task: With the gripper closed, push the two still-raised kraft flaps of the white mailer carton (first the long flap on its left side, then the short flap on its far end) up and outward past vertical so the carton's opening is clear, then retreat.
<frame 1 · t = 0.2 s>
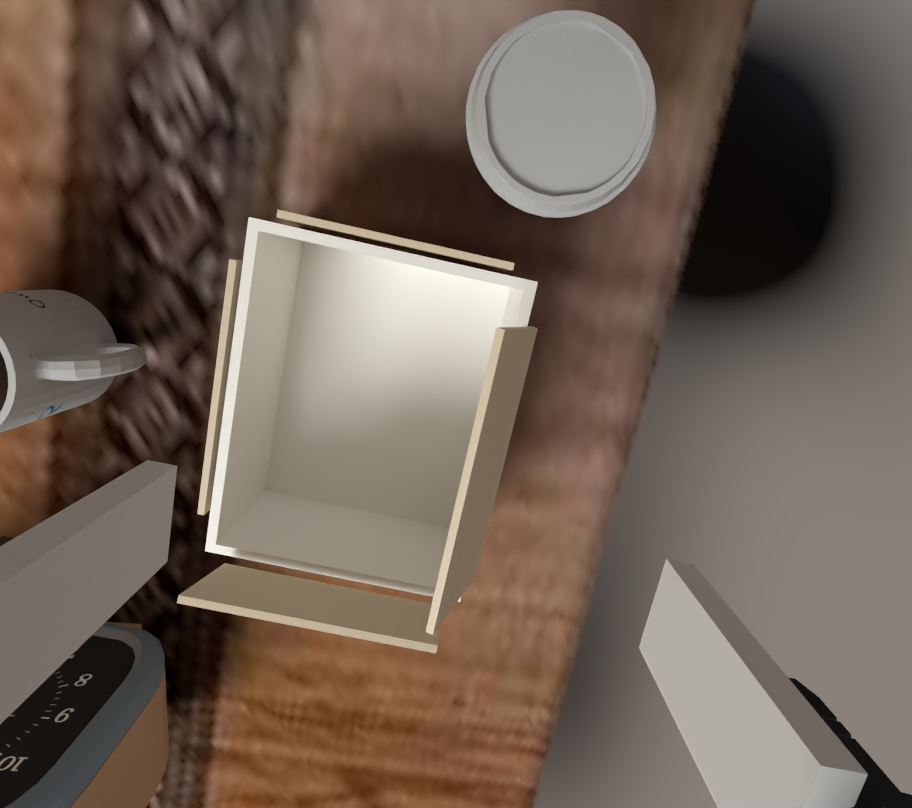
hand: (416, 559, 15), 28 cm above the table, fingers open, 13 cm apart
carton: (383, 391, 42), on the table
alarm clock: (76, 657, 48), on the table
mug: (87, 354, 42), on the table
short flap: (320, 604, 31), point 13 cm above the table, hinge at 75.0°
disposable coffee cup: (532, 160, 39), on the table
long flap: (484, 471, 29), point 14 cm above the table, hinge at 70.0°
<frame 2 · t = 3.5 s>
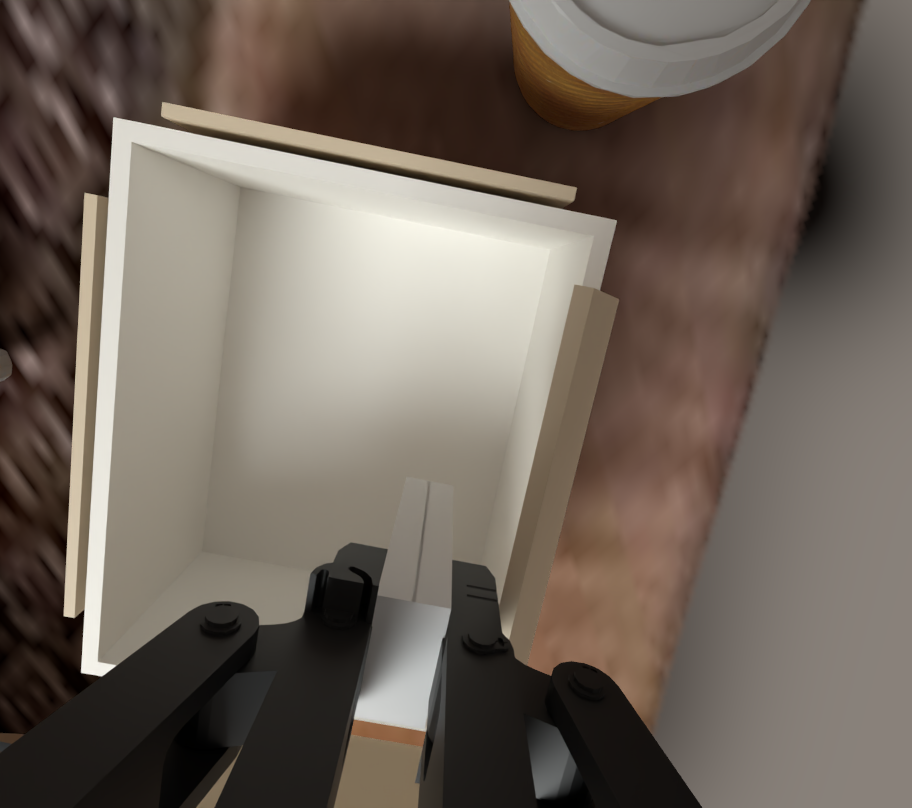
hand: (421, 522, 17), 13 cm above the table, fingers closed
carton: (367, 407, 29), on the table
short flap: (255, 781, 18), point 13 cm above the table, hinge at 75.0°
disposable coffee cup: (581, 57, 26), on the table
long flap: (536, 557, 16), point 14 cm above the table, hinge at 70.1°, touching gripper
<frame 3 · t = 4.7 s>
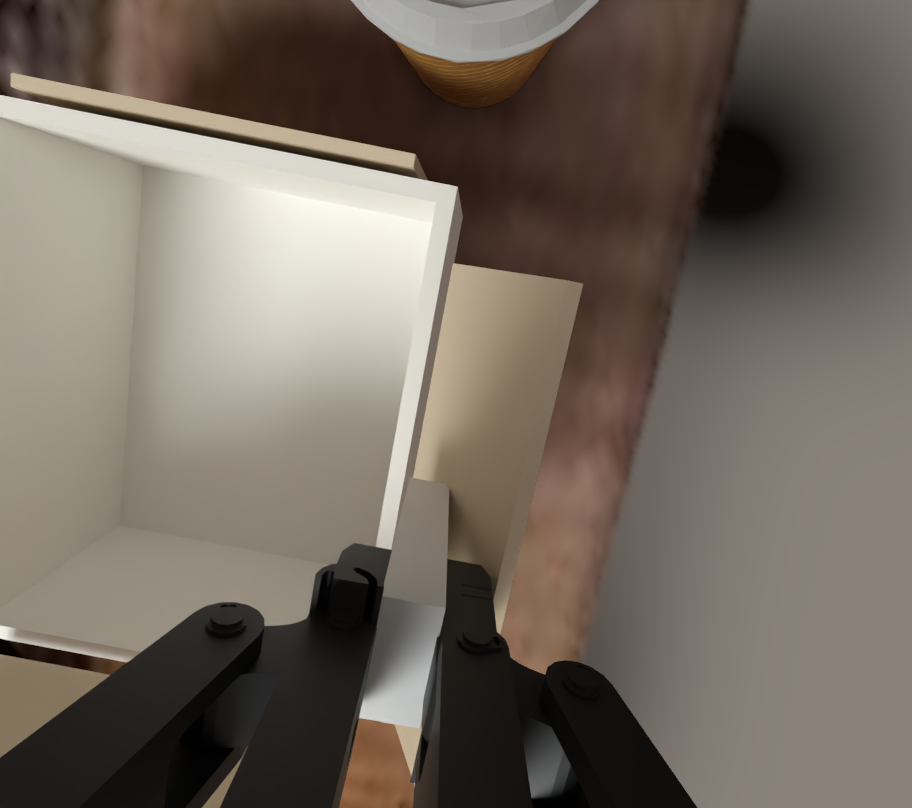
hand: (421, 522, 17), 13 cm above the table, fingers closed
carton: (276, 383, 30), on the table
short flap: (106, 733, 19), point 13 cm above the table, hinge at 75.0°
disposable coffee cup: (475, 34, 26), on the table
long flap: (451, 531, 17), point 14 cm above the table, hinge at 112.5°, touching gripper
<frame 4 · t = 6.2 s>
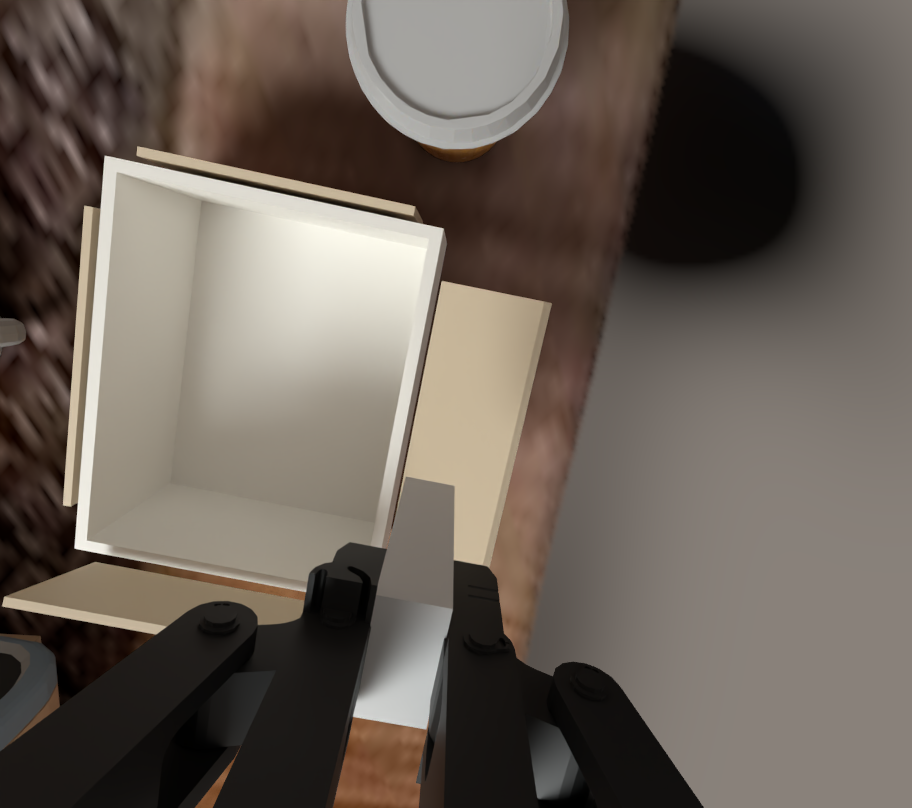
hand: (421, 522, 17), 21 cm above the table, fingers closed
carton: (299, 370, 38), on the table
short flap: (193, 607, 27), point 13 cm above the table, hinge at 75.0°
disposable coffee cup: (457, 108, 35), on the table
long flap: (454, 459, 26), point 13 cm above the table, hinge at 125.5°
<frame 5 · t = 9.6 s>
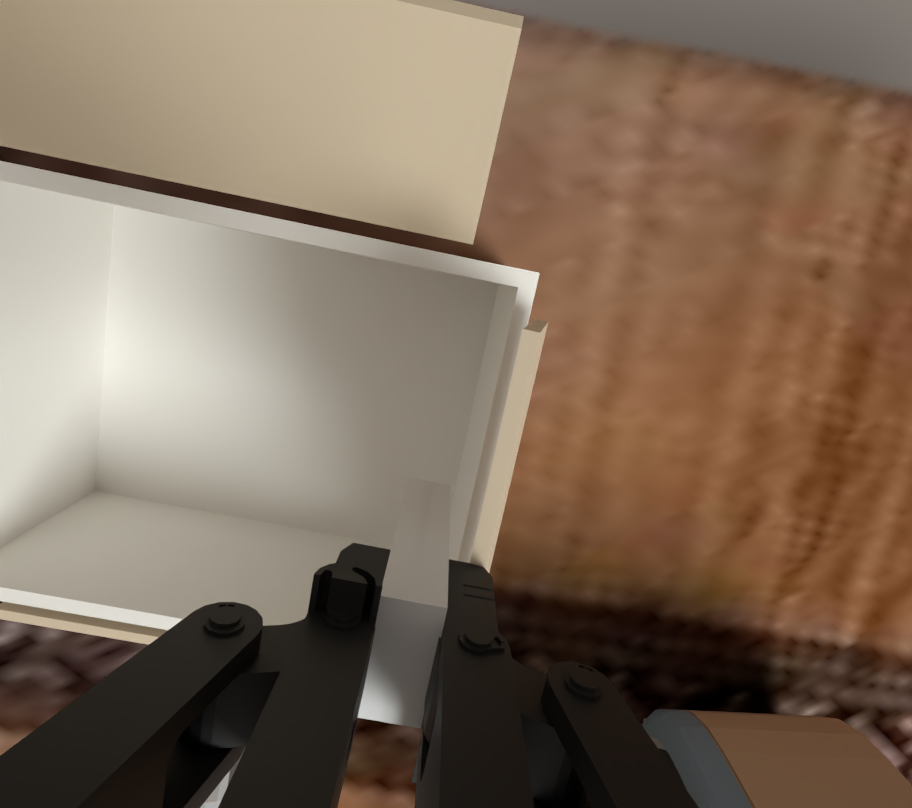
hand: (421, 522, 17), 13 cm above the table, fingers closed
carton: (292, 389, 30), on the table
alarm clock: (690, 796, 36), on the table
mug: (276, 740, 35), on the table
short flap: (488, 538, 17), point 13 cm above the table, hinge at 79.1°, touching gripper
long flap: (206, 92, 15), point 13 cm above the table, hinge at 125.7°
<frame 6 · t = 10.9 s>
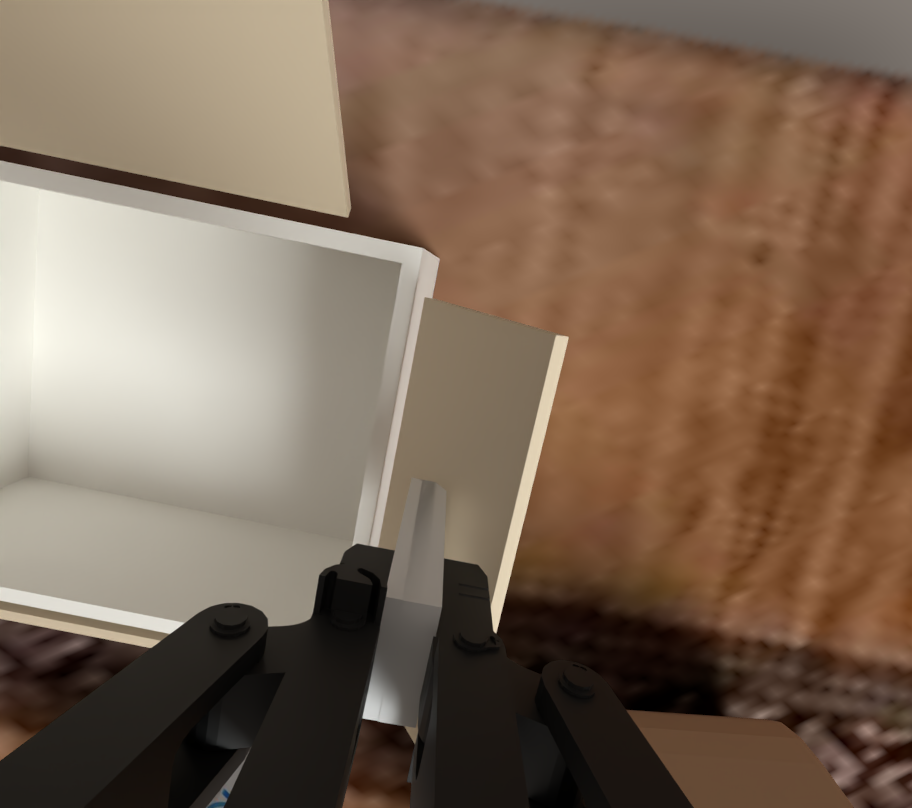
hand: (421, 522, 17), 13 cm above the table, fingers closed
carton: (221, 375, 29), on the table
alarm clock: (638, 800, 35), on the table
mug: (215, 732, 34), on the table
short flap: (440, 528, 17), point 13 cm above the table, hinge at 123.2°, touching gripper
long flap: (44, 55, 14), point 13 cm above the table, hinge at 125.7°
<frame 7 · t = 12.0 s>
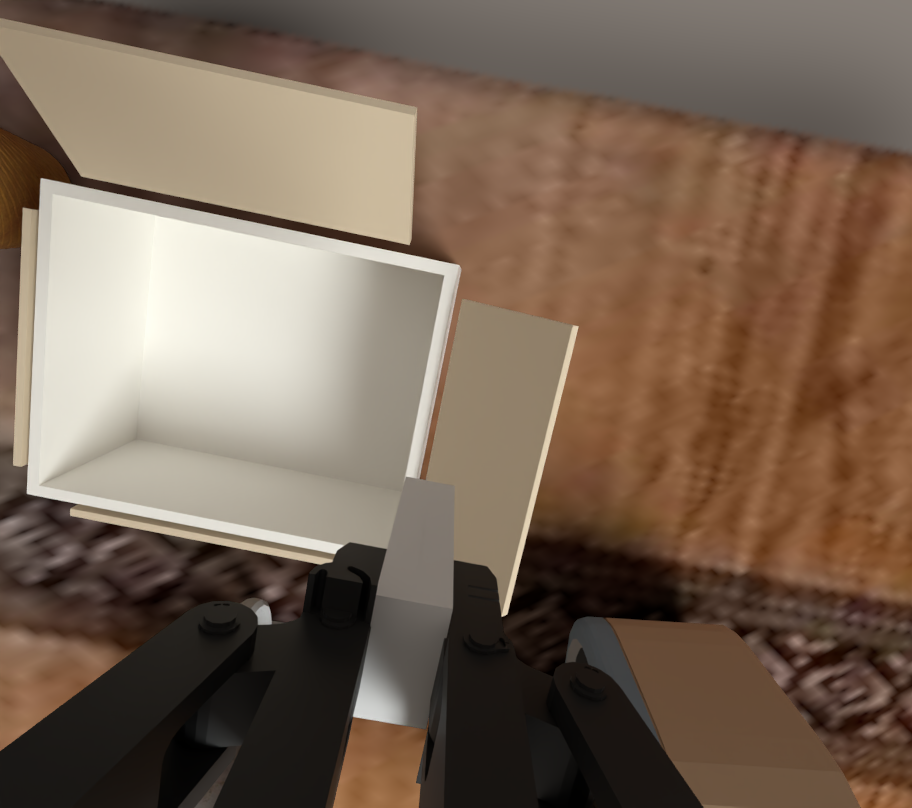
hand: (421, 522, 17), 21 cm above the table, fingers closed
carton: (290, 359, 38), on the table
alarm clock: (616, 702, 43), on the table
mug: (277, 648, 43), on the table
short flap: (484, 452, 26), point 13 cm above the table, hinge at 134.2°
disposable coffee cup: (27, 195, 36), on the table
long flap: (227, 146, 23), point 13 cm above the table, hinge at 125.7°
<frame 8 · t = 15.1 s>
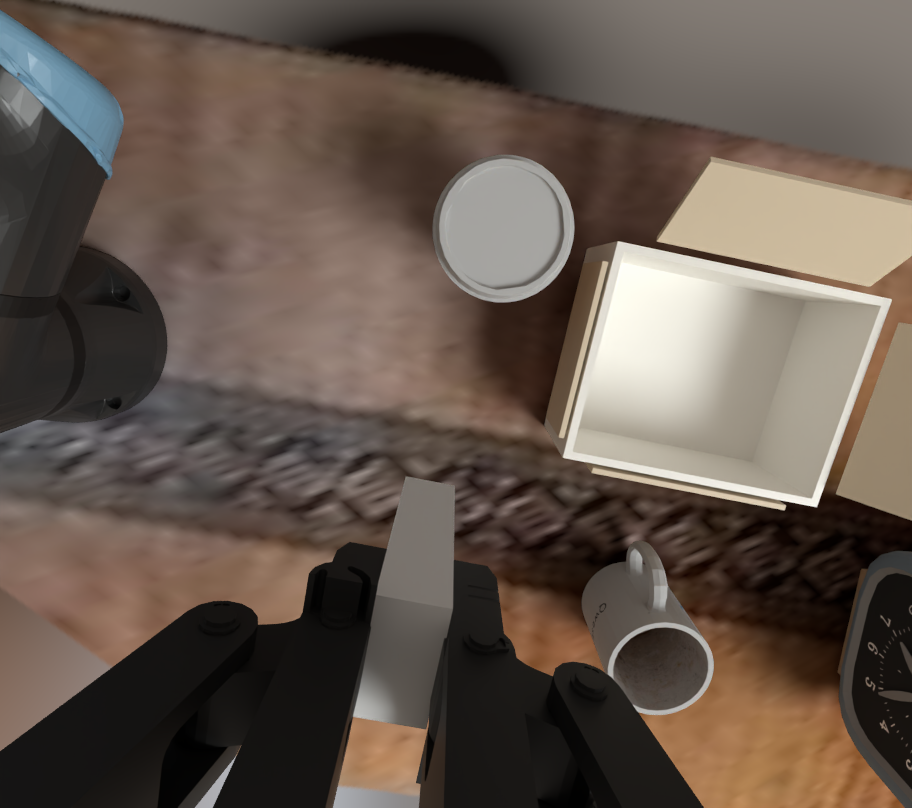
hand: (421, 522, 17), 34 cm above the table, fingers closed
carton: (673, 362, 51), on the table
alarm clock: (884, 622, 57), on the table
mug: (629, 583, 56), on the table
disposable coffee cup: (493, 241, 49), on the table
long flap: (797, 227, 36), point 13 cm above the table, hinge at 125.7°
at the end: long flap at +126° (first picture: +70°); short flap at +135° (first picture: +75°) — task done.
